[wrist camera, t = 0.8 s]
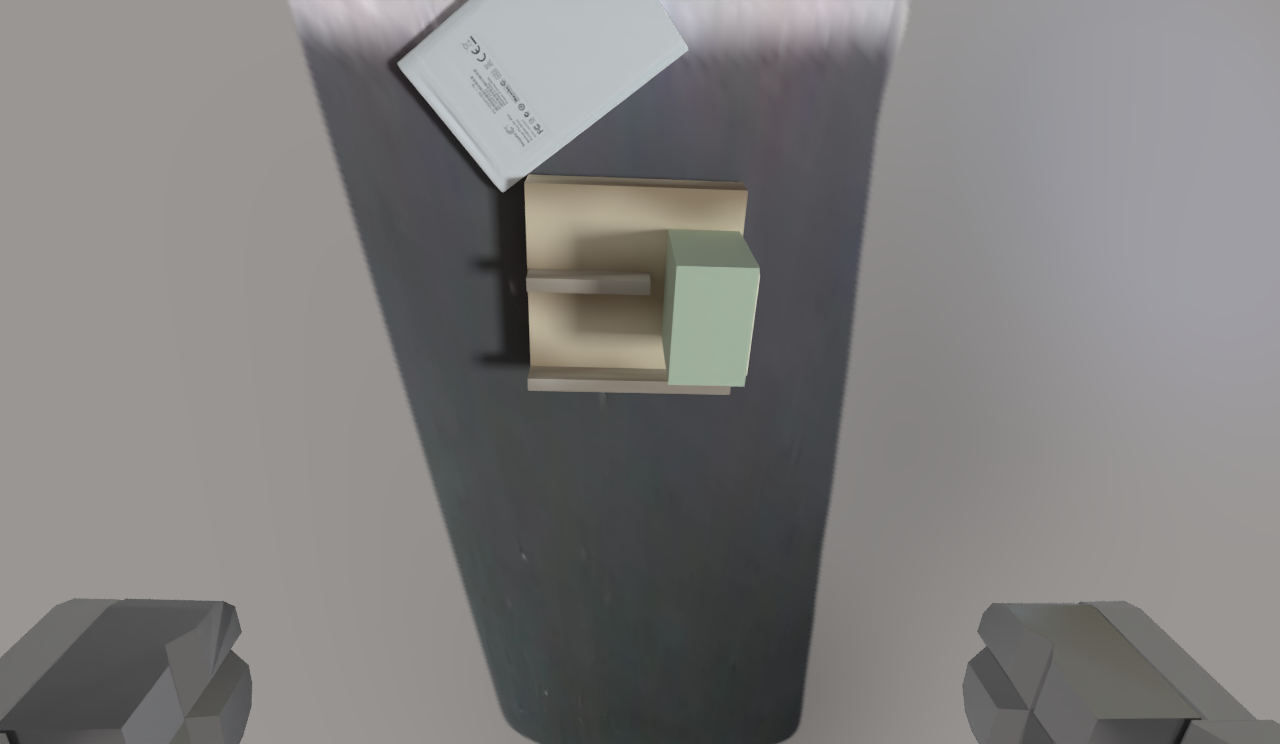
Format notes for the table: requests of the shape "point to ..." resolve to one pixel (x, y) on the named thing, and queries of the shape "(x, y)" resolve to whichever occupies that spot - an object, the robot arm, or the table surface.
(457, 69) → the external hard drive
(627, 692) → the table surface
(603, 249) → the shelf
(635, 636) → the table surface
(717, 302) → the tea box
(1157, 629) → the robot arm
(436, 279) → the table surface
